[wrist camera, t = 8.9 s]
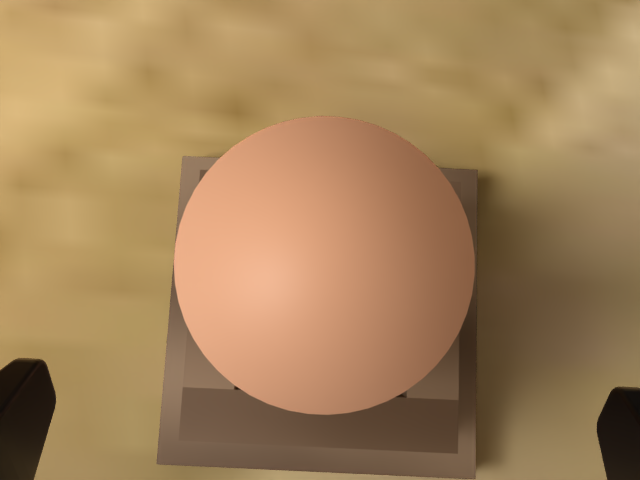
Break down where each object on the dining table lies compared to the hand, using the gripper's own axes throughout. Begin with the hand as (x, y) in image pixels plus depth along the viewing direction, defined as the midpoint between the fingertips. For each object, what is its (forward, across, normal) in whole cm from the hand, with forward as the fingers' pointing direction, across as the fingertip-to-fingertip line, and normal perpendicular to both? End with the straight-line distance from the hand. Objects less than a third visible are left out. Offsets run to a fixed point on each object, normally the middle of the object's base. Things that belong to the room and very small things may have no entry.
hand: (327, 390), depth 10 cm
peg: (+8, 0, +6) cm, 10 cm away
